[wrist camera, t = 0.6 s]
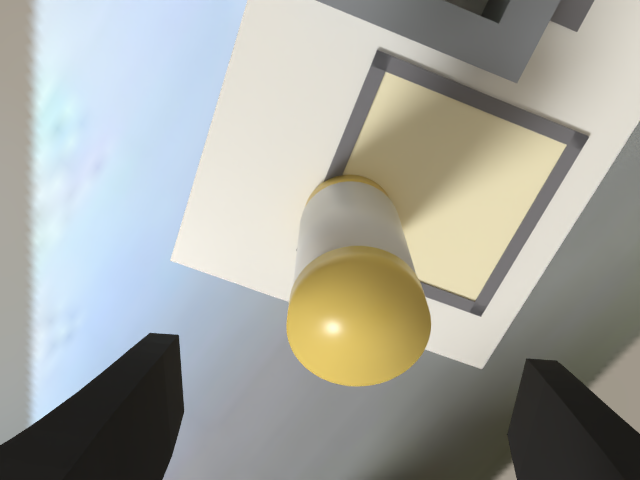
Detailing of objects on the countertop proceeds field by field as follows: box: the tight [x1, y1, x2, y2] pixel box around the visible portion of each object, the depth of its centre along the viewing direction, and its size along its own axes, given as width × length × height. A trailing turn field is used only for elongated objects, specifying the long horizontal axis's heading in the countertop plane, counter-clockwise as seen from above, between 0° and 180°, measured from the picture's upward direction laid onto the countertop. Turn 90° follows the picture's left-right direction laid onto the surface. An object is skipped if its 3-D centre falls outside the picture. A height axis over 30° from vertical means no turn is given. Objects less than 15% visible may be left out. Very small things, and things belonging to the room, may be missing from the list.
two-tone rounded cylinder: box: [287, 175, 431, 386], centre depth 17 cm, size 4×4×7 cm
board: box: [170, 0, 640, 369], centre depth 18 cm, size 18×13×1 cm
